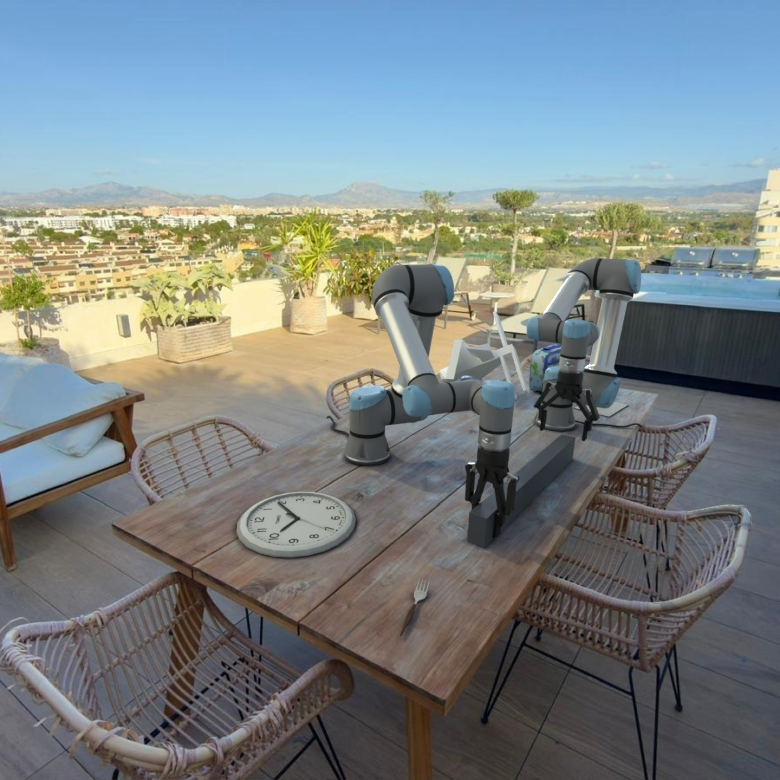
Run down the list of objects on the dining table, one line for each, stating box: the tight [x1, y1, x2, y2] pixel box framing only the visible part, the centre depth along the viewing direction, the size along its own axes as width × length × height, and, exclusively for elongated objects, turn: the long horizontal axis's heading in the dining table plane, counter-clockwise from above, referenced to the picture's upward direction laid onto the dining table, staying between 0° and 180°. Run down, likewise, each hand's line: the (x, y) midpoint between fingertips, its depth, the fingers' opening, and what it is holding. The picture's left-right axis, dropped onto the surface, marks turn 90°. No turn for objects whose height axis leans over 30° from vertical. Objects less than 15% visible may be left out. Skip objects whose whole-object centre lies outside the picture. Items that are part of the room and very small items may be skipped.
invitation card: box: [573, 401, 629, 418], centre depth 226 cm, size 21×1×15 cm
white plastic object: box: [438, 310, 531, 400], centre depth 245 cm, size 37×45×31 cm
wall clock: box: [236, 491, 357, 558], centre depth 134 cm, size 30×2×30 cm
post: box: [466, 433, 576, 548], centre depth 150 cm, size 64×5×8 cm, turn 143°
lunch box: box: [528, 344, 561, 393], centre depth 247 cm, size 26×11×21 cm, turn 134°
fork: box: [399, 577, 431, 637], centre depth 104 cm, size 3×16×2 cm, turn 160°
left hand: (486, 531), depth 131 cm, fingers closed on post, 5 cm apart
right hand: (562, 434), depth 168 cm, fingers open, 13 cm apart
